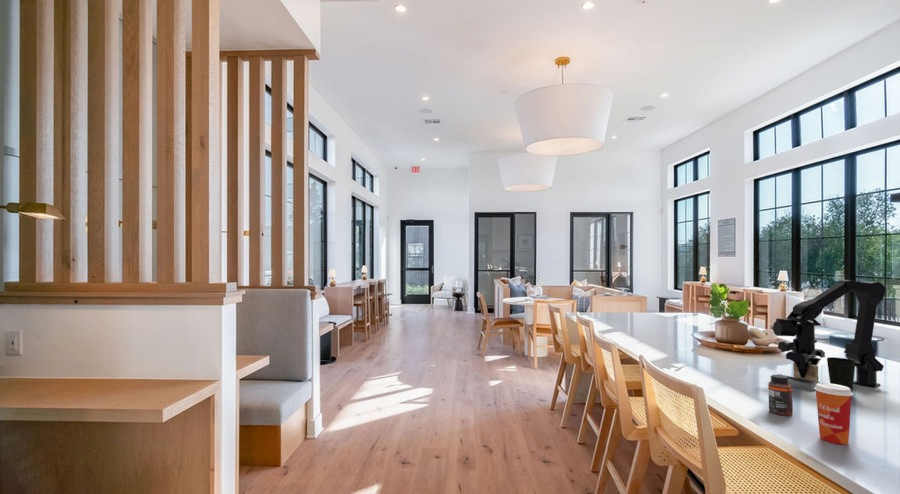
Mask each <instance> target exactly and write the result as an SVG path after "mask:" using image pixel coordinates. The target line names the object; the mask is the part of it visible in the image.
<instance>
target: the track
mask: <svg viewBox="0 0 900 494" xmlns="http://www.w3.org/2000/svg"><path fill="white" fill-rule="evenodd" d="M776 375H783V376H787V377H788V383H789V384H790V385H791V386H792V388H794V389H795V388H796V389H800V390H804V391H809V392H814V391H816V390H815V389H814V388H815V387H816V384H817V383H819V384H820V383H821V382H820V381H818V382H817V381H811V380H806V379H801V378H796V377H794V376H790V375H786V374H781V373H778V374H777V373H776ZM771 381H772V375H771V376H770V382H771Z"/></svg>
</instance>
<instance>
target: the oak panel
mask: <svg viewBox="0 0 900 494" xmlns="http://www.w3.org/2000/svg"><path fill="white" fill-rule="evenodd" d="M793 377H796V378H801V379H806V380H811V381H817V382H819V365H811V364H810V366H809V369H808V371H807V374H806V376H805V378H802V377H801V376H800V373H799V370H798V368H797V365H796V363H794V362H793Z"/></svg>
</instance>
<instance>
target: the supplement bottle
mask: <svg viewBox="0 0 900 494" xmlns="http://www.w3.org/2000/svg"><path fill="white" fill-rule="evenodd" d="M783 375H784V374H782V375H777V374H772V375H771V376H772V381H771V380H770V381H769V382H768V383H767V384H768V385H767V386H768V387H767V388H768V389H767V390H768V392H767V394H768V411H769V412H771V414H775V415H779V416H789V417H790V416H792V415H793V413H794V408H793V407H794V406H793V387H792V386H791V385H790V384H789V383H788V377H787V376H788V375H786V376H783Z"/></svg>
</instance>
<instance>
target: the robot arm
mask: <svg viewBox="0 0 900 494" xmlns="http://www.w3.org/2000/svg"><path fill="white" fill-rule="evenodd" d="M886 291H887V288H886V286H885V285H884V284H883V283H882V282H878V281H865V280H864V281H854V280H852V279H840V280H838V281H837V283H835V284H834V285H832V286H831V287H829V288H827V289H826V290H824V291H822V293H819V294H818V295H817V296H814V298H811V299H808V300H805V301H802V302H799V303H796V304H795V305H794V306H793V307H792V311H791V312H790V313H789V314H788V316H787V317H786V318H779V317H777V318H776V319H775V322H774V323H773V325H772V332H773V333H774V335H775V336H777V337H794V338H793V340H792V341H791V342H786V341H784V340H783V341H779V342H778V344H777V349H778V350H780V352H781V353H785V360H789V361H792V362H793V364H794V363H796V365H797V368H798V370H799V373H800V376H801V377H802V378H805V376H806V374H807V371H808V369H809V366H810V364H811V365H817V366H819V365H818V364H819V363H820V361H821V360H822V358H823V359H824V358H826V352H825V351H824V350H823V349H820V348H819V349H818V348H816V343H817V342H818V340H817V339H816V335H815V334H816V333H815V327H816V326H819V327H820V326H822V324H821V323H820V322H818V321H817V318H818V317H819V316H820V315H821V314H822V313H823V310H824V309H825V308H826V307H828V306H829V305H831V304H832V303H834V302H835V301H837V300H839V299H840V298H842V297H843V296H844V295H846V294H848V293H849V292H854V293H855V297H856V299H857V301H858V303H859V305H858V311H857V319H856V324H855V332H854V337H853V340H852V341H851V342H846V343H845V349H844V352H843V353H844V354H845V359H850V360H854V361H855V373H856V374H855V375H856V376H855V377H856V379H855V380H854V381H853V384H855V385H860V386H866V387H872V388H876V387H879V386H881V385H882V384H881V383H878V381H877V377H878V376H877V372H883V370H884V365H883V364H882V363H881V362H880V361H879V360H878V359H877V358H876V350H875V348H874V345H873V343H872V341H873V334H874V328H875V321H876V320H875V319H876V315H877V310H878V309H877V308H878V306H879V305H880V303H882V301H883V300H884V298H885V295H886V293H887V292H886ZM817 344H818V343H817Z"/></svg>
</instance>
